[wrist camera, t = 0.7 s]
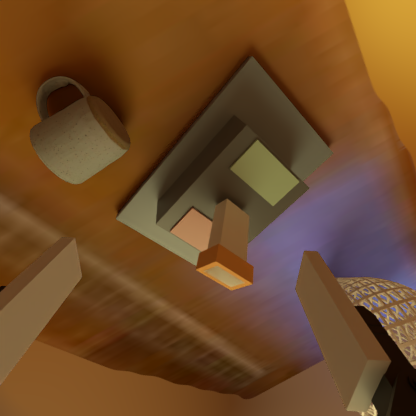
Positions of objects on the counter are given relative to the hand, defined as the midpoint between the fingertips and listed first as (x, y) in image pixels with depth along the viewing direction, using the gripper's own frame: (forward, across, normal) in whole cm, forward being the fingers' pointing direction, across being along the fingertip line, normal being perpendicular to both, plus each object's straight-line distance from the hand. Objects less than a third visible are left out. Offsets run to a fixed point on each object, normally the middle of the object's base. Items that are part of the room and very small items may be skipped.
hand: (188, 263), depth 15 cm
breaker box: (+25, +3, -2) cm, 25 cm away
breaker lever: (+18, +4, -3) cm, 18 cm away
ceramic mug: (+21, -15, +5) cm, 27 cm away
